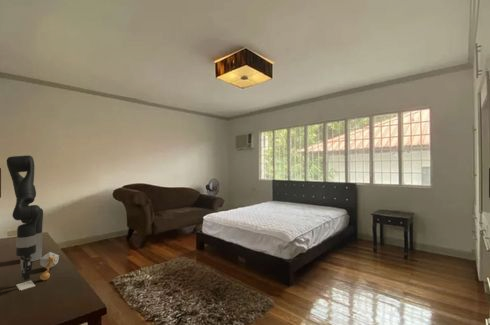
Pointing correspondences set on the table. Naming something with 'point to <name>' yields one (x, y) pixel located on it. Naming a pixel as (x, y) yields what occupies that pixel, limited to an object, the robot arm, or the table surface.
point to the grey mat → (25, 285)
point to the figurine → (46, 275)
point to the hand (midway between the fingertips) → (25, 278)
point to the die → (45, 259)
